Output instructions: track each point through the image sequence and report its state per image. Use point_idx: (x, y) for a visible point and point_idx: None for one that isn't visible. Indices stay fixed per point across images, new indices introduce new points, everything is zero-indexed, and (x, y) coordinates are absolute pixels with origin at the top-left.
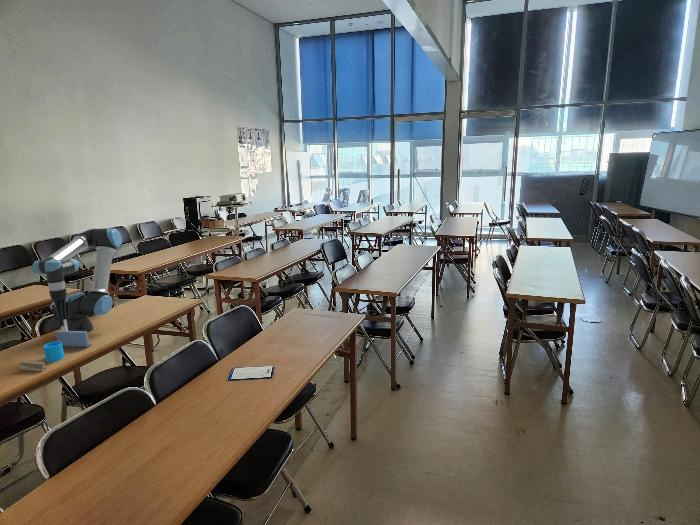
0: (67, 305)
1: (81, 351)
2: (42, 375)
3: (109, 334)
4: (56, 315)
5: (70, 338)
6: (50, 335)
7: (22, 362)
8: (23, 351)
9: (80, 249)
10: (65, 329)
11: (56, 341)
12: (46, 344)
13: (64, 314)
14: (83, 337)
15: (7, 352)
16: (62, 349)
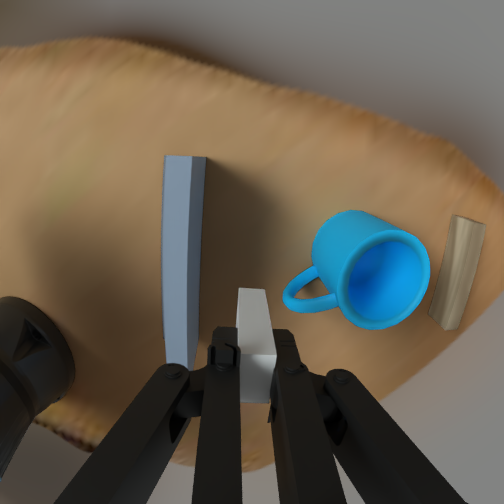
0: (116, 501)
1: (260, 160)
2: (489, 193)
3: (28, 164)
4: (389, 432)
5: (193, 282)
6: (98, 427)
7: (456, 321)
8: (256, 432)
9: None
10: (266, 300)
11: (341, 291)
12: (381, 320)
13: (239, 410)
14: (197, 177)
15: (263, 463)
16: (359, 222)
